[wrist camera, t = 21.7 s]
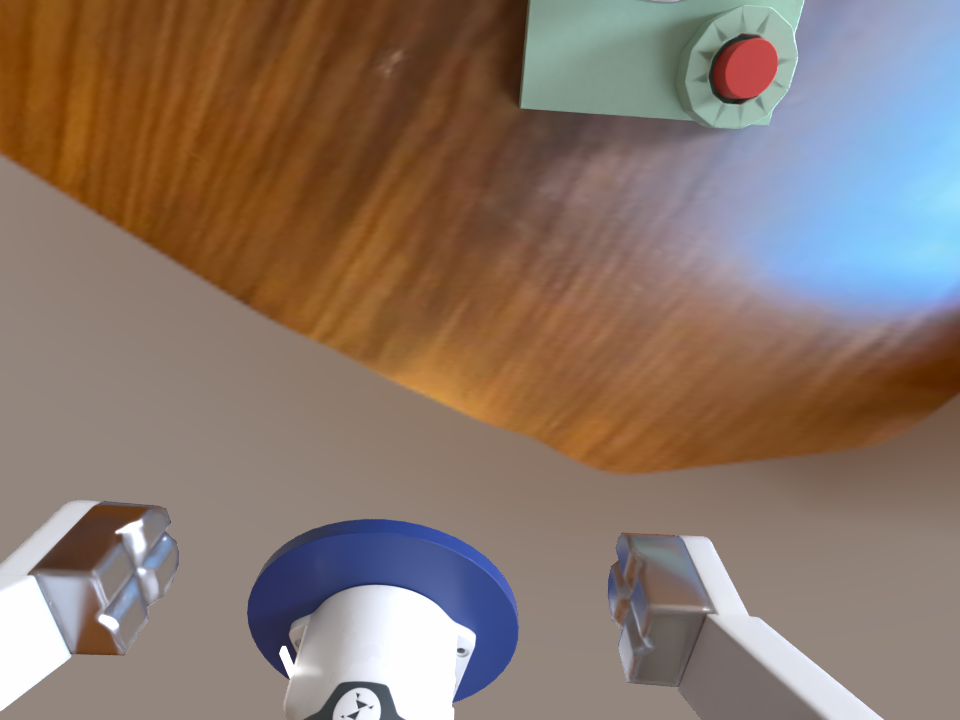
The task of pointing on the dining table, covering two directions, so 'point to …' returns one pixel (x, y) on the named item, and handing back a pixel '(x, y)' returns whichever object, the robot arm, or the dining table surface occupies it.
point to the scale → (651, 57)
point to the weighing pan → (661, 1)
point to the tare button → (745, 68)
